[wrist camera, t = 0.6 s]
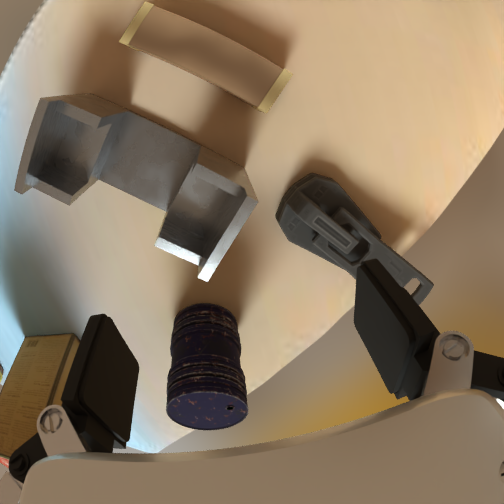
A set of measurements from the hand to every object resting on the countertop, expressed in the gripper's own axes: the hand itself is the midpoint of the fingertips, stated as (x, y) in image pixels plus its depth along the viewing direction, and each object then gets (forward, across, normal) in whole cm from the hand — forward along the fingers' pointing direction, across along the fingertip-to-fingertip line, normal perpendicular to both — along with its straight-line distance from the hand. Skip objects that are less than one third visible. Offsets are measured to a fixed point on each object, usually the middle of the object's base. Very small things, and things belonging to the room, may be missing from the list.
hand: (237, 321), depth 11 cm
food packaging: (+25, +36, +25) cm, 51 cm away
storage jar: (+25, +7, +23) cm, 35 cm away
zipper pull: (+25, -16, +14) cm, 33 cm away
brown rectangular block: (+25, -1, -12) cm, 28 cm away
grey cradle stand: (+25, +8, -2) cm, 26 cm away
